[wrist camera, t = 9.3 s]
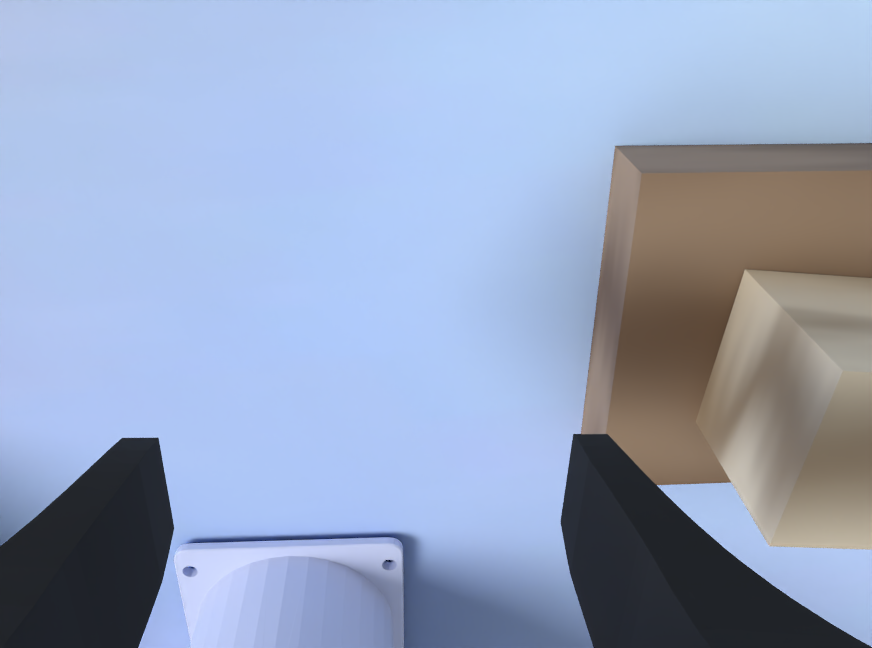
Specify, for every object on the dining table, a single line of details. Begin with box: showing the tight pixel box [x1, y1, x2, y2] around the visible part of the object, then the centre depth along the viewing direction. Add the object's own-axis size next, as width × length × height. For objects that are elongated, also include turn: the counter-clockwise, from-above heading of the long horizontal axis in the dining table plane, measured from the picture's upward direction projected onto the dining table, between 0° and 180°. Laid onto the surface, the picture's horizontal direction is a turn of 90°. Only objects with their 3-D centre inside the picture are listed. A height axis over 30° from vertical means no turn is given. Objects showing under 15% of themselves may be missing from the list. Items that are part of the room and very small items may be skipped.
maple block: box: [696, 269, 872, 549], centre depth 20 cm, size 5×5×5 cm
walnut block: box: [581, 143, 872, 485], centre depth 23 cm, size 10×10×3 cm
